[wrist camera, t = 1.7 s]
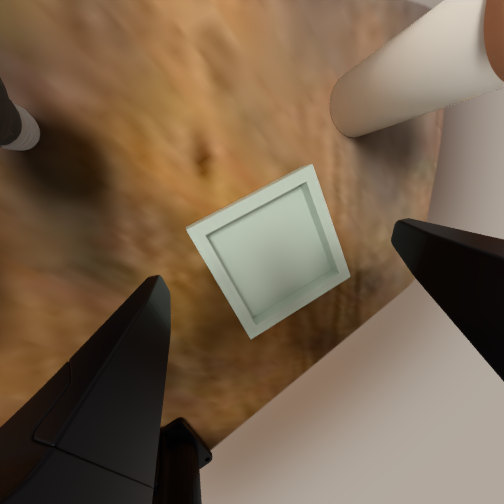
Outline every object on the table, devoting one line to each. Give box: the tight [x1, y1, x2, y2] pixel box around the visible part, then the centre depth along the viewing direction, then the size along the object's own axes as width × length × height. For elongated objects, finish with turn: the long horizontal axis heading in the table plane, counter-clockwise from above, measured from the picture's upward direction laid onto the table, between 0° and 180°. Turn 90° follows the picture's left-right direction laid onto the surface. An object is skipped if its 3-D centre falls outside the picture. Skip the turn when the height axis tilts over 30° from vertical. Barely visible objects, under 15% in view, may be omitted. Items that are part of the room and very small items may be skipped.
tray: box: [186, 164, 351, 339], centre depth 20 cm, size 11×11×2 cm
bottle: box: [330, 0, 504, 137], centre depth 13 cm, size 5×5×14 cm
